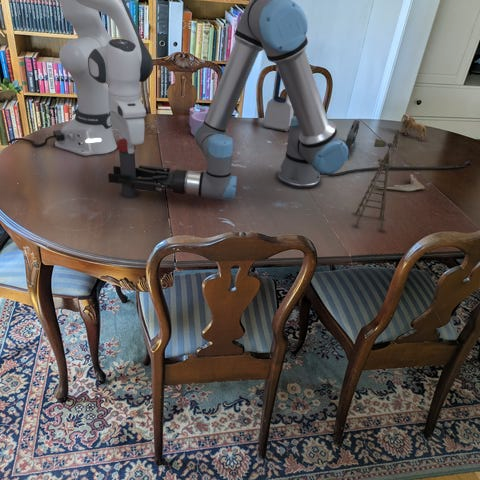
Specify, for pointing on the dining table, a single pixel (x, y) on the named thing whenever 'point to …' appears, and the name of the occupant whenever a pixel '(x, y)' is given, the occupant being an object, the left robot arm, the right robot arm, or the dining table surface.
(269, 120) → the electronic device
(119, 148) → the lid
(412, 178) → the jawbone
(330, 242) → the dining table surface
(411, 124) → the lion figurine
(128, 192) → the dark grey bottle
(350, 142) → the handheld gaming console
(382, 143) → the miniature windmill
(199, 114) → the clip
